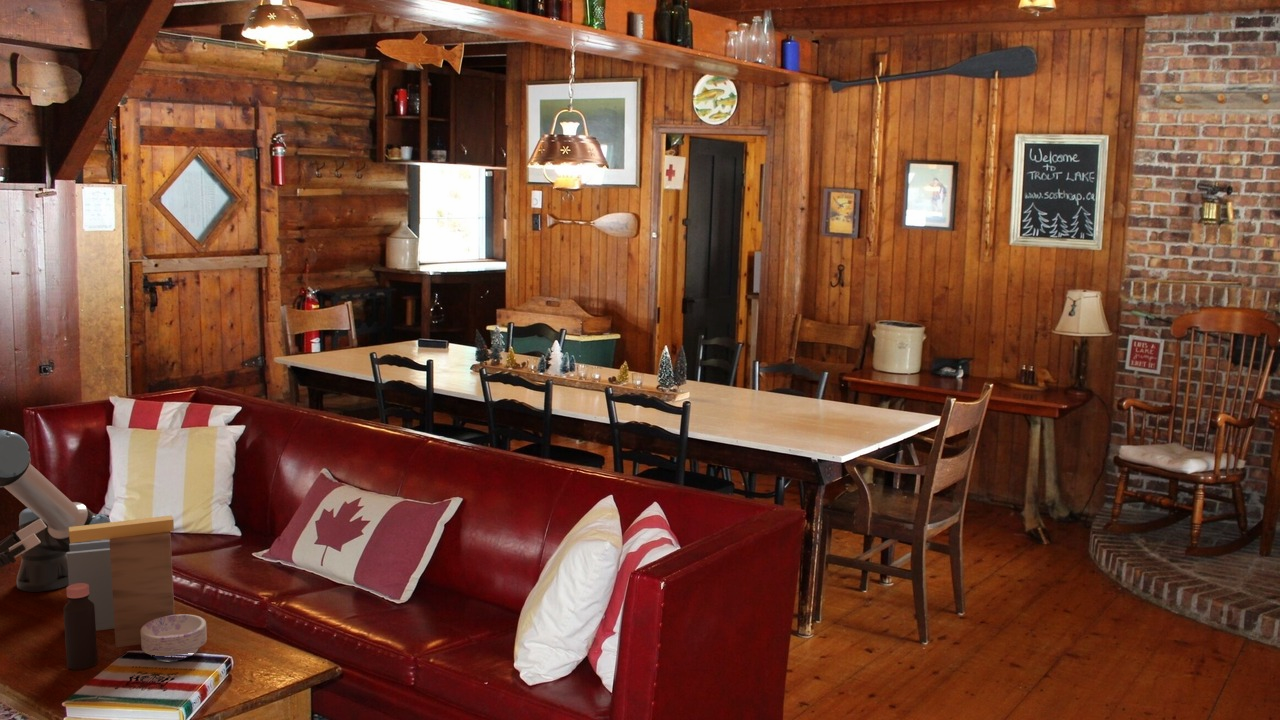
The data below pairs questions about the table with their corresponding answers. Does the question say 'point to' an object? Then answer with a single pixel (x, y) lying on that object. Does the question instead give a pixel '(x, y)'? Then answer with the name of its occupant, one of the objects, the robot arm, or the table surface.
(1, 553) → the robot arm
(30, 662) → the table surface
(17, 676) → the table surface
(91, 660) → the bottle
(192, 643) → the paper bowls
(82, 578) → the grey u cradle
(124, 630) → the walnut pedestal
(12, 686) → the table surface
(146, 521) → the ochre bar
